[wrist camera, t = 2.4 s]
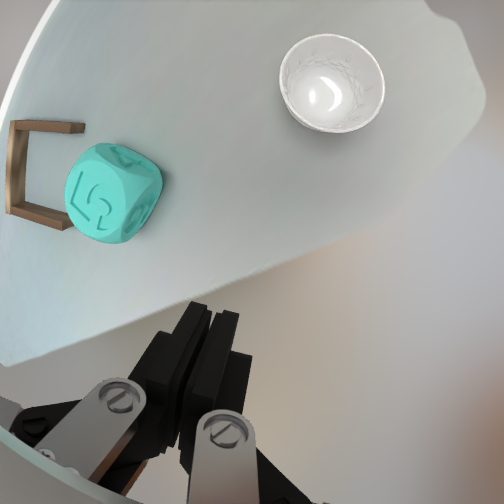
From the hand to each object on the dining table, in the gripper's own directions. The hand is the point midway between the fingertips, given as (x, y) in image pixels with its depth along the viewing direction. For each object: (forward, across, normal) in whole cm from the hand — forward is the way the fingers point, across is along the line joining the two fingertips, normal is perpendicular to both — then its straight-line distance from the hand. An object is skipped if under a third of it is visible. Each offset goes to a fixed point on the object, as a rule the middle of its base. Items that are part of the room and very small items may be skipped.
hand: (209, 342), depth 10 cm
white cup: (+24, -3, -13) cm, 27 cm away
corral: (+24, +29, 0) cm, 38 cm away
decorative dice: (+24, +16, +1) cm, 29 cm away
